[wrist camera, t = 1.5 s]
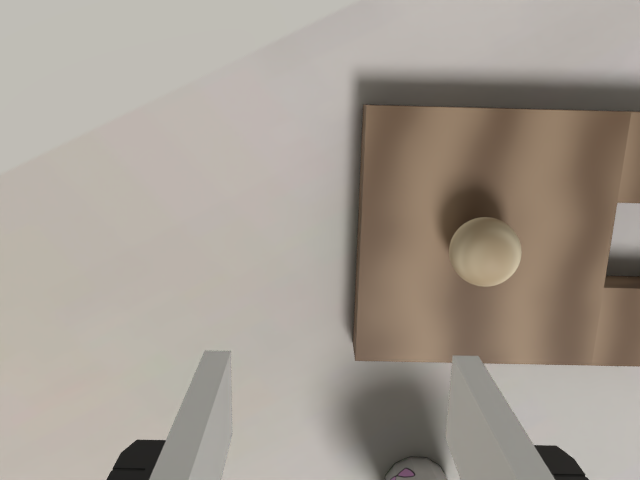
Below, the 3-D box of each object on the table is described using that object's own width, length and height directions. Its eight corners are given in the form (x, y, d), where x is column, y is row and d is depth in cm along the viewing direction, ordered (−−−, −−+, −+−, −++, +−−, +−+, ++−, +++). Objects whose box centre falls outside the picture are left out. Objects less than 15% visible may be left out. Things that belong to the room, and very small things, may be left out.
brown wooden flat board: (748, 114, 35) (780, 115, 33) (699, 351, 39) (724, 368, 37) (363, 104, 35) (366, 105, 33) (352, 344, 39) (355, 360, 37)
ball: (511, 211, 34) (536, 226, 30) (504, 275, 35) (527, 297, 31) (445, 210, 34) (461, 224, 30) (440, 273, 35) (455, 295, 31)
